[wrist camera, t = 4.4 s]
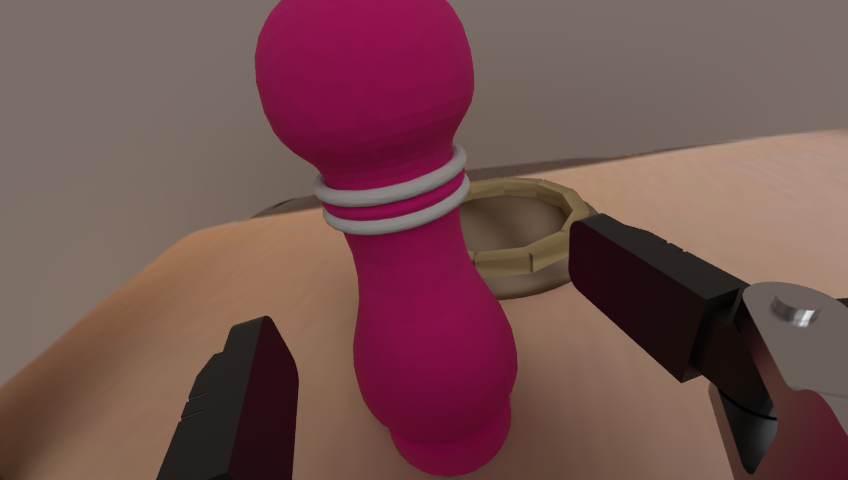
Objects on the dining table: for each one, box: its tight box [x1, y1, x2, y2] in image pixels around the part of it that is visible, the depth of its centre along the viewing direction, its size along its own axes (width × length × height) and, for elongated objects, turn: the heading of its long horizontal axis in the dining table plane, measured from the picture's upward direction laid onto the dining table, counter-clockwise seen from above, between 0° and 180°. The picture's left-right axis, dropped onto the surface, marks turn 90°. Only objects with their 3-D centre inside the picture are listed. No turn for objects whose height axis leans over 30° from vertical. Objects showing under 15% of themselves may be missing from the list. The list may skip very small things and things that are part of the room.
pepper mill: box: [255, 0, 517, 476], centre depth 13 cm, size 7×7×20 cm
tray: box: [460, 177, 599, 300], centre depth 31 cm, size 18×18×2 cm
